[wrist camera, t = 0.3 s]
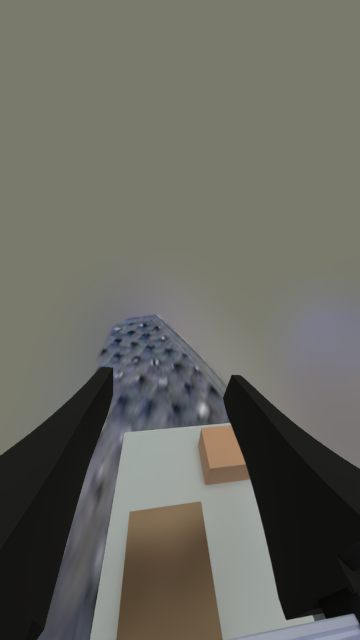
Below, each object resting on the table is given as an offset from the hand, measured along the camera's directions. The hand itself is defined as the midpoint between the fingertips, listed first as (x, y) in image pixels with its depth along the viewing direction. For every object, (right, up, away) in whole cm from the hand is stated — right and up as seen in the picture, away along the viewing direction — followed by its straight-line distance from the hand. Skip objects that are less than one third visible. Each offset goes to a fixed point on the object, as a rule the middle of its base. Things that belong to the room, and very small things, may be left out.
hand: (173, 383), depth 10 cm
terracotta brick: (+6, -16, +13) cm, 21 cm away
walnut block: (-1, -20, +5) cm, 20 cm away
